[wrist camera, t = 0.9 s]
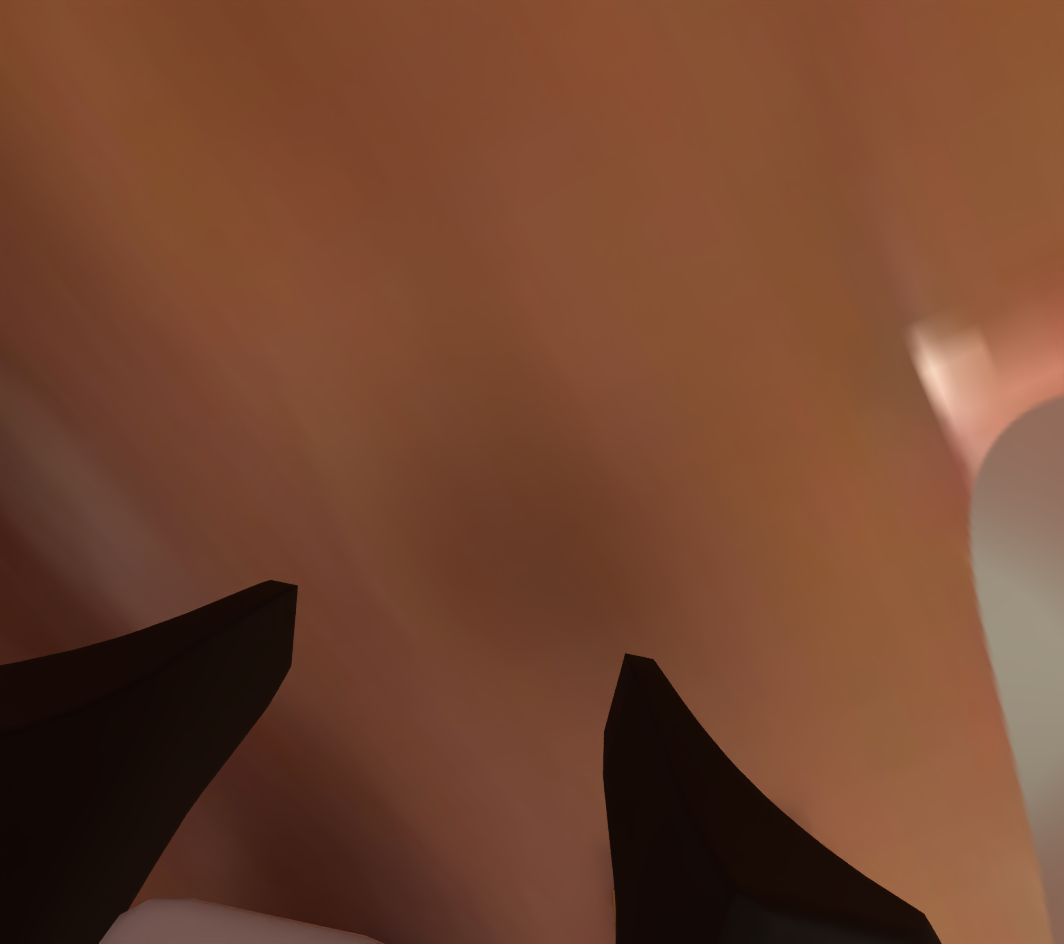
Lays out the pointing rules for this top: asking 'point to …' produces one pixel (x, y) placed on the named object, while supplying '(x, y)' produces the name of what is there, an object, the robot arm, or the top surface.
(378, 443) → the top surface
